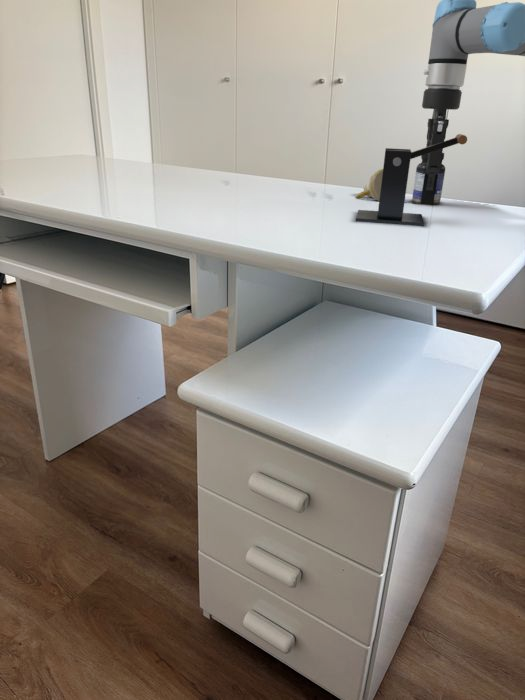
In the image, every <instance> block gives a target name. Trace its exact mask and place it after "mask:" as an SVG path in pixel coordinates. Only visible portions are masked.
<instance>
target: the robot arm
mask: <svg viewBox="0 0 525 700" xmlns="http://www.w3.org/2000/svg"><path fill="white" fill-rule="evenodd" d="M434 13H435V14H434V19H433V23H432V32H431V41H430V47H429V54H428V61H427V62H428V63H427V64H428V65H427V69H424V71H423V74H424V75H425V76H426V77H425V84H424V85H425V86H426V87H427V88H425V89H424V91H423V95H422V103H421V107H422V108H423V109H425V110H426V109H427V110H433V111H432V117H431V118H428V119H427V132H426V147H429V146H432V145H435V144H438V143H441V142H444V141H446V136H447V129H448V127H449V121H450V120H449V119H448V118H447V110H455V111H456V110H459V108H460V106H461V100H462V94H463V92H462V90H461V88H463V86H464V84H465V79H466V73H467V67H468V65H467V64H468V58H469V55H472V54H473V55H474V54H498V55H505V56H506V55H508V56H520V57H525V3H523V2H519V1H518V2H517V1H516V2H507V1H505V2H500V3H497V4H494V5H488V6H481V7H477V1H476V0H440V1H439V2H438V3H437V6H436V9H435V12H434ZM426 147H425V148H426ZM443 150H444V148H443V149H440V150H437V151H434V152H431V153H428V161H427V168H426V171H424V170H423V172H422V174H425V176H424V182H423V189H422V195H421V202H420V204H419V205H421V206H422V205H423V206H434V205H433V203H434V197H435V191H436V185H437V179H438V173H439V172H440V164H441V158H442V153H443V152H444V151H443Z"/></svg>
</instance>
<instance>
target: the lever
mask: <svg viewBox="0 0 525 700" xmlns="http://www.w3.org/2000/svg"><path fill="white" fill-rule="evenodd" d="M467 142H468V137H467V135H465V134H463V133H458V134H456V135H455V137H453V138H449V139H447V140H444V142H441V143H438V144H435V145H432V146H429V147H423V148H420V149H416V150H414V151H411V159H410V160H413V159H415V158H419V157H421V156H422V155H425V154H428V153H431V152H434V151H437V150H440V149H443V150H444V149H445V148H448V147H453V146H454V145H459V144H460V145H465V144H467Z"/></svg>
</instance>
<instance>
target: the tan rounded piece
mask: <svg viewBox="0 0 525 700" xmlns="http://www.w3.org/2000/svg"><path fill="white" fill-rule="evenodd" d="M382 175H383V168H381V169H379V170H377V171H375V172H374V173H373V174H372V175H371V176H370V178H369V180H367V181H366V182H365V183H364V185H363V191H361V192H359V193H357V194H355V196H354V197H355V198H356V199H360V198H364V197H369V198H373V199H374V200H376V201H377V202H379V200H380V192H381V183H382Z"/></svg>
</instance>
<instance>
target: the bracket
mask: <svg viewBox="0 0 525 700" xmlns="http://www.w3.org/2000/svg"><path fill="white" fill-rule="evenodd" d="M411 152H412V150H411V148H392V147H390V148H389V147H385V151H384V157H383V158H384V161H383V165H382V166H383V168H382V169H383V175H382V183H381V192H380V200H379V201H378V209H377V210H368V209H358V210H357V213H356V217H355V222H356V223H357V222H359V223H373V224H383V225H384V224H386V225H399V226H415V227H424V226H425V221H424V217H423V214H422V213H413V212H412V213H410V212H404V209H405V208H404V207H405V201H406V194H407V187H408V181H409V180H408V179H409V172H410V165H411V160H412V159H411Z"/></svg>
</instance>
